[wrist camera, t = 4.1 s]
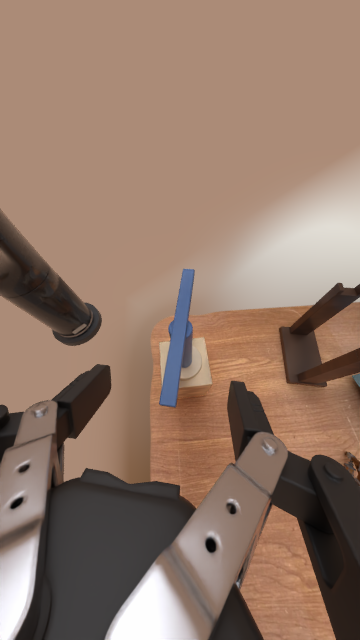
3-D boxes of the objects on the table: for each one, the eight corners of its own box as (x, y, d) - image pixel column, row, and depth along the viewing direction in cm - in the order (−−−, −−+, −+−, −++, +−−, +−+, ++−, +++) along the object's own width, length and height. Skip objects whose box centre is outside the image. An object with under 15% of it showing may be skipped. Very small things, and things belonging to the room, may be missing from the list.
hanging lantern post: (355, 448, 31) (378, 467, 26) (344, 496, 31) (366, 523, 26) (343, 444, 31) (364, 462, 27) (332, 491, 31) (352, 517, 26)
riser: (171, 399, 37) (161, 390, 25) (168, 365, 40) (159, 342, 28) (205, 395, 37) (212, 384, 25) (200, 362, 40) (204, 337, 28)
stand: (286, 382, 37) (350, 358, 22) (279, 328, 43) (325, 280, 28) (323, 387, 37) (414, 365, 22) (310, 331, 42) (375, 283, 28)
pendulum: (158, 408, 24) (132, 400, 13) (174, 321, 30) (165, 267, 19) (197, 414, 23) (202, 411, 13) (205, 324, 29) (213, 270, 19)
